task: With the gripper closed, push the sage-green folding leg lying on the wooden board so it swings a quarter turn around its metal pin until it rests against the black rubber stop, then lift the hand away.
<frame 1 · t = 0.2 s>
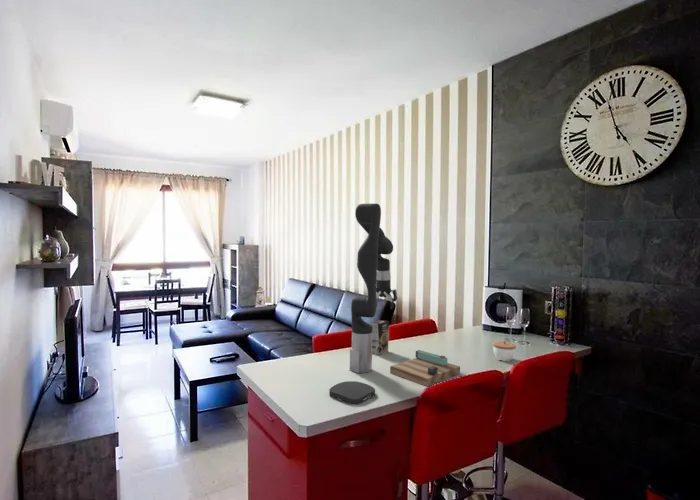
hand: (383, 307, 208), 22 cm above the bar counter, tool pointing down, fingers open, 8 cm apart
wooden board: (425, 373, 172), on the bar counter
folding leg: (431, 356, 179), point 5 cm above the bar counter, hinge at 0.0°
coffee box: (378, 352, 202), on the bar counter
media streaming box: (352, 396, 146), on the bar counter
lidded jar: (503, 360, 193), on the bar counter
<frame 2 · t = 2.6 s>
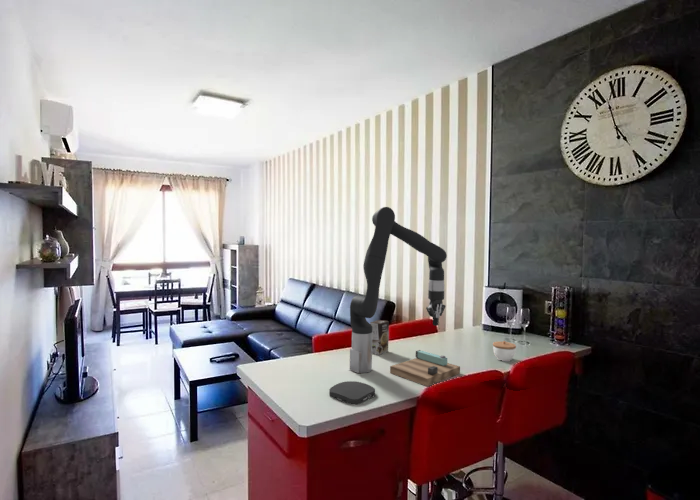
hand: (435, 325, 186), 18 cm above the bar counter, tool pointing down, fingers closed
nothing on the bar counter moved.
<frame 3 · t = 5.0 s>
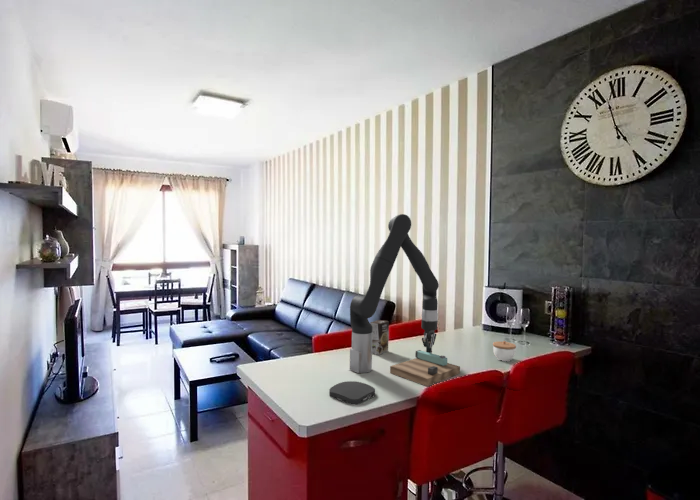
hand: (428, 355, 184), 4 cm above the bar counter, tool pointing down, fingers closed
folding leg: (431, 356, 179), point 5 cm above the bar counter, hinge at 0.4°, touching gripper
everything else where it was.
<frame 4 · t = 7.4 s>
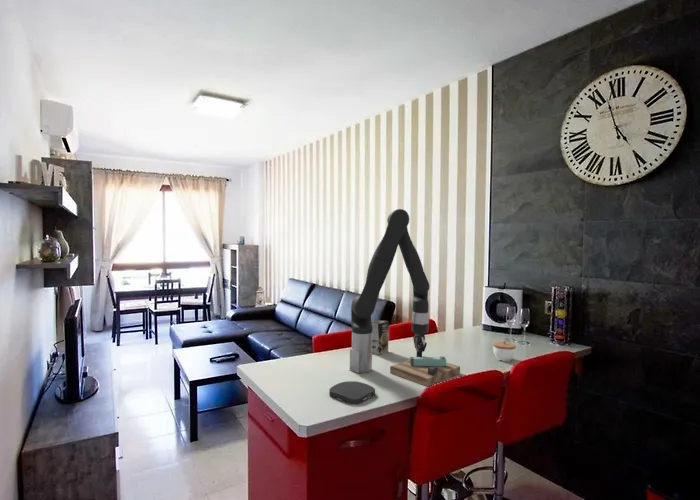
hand: (419, 359, 176), 5 cm above the bar counter, tool pointing down, fingers closed
folding leg: (428, 360, 173), point 5 cm above the bar counter, hinge at 48.2°, touching gripper
everything else where it was.
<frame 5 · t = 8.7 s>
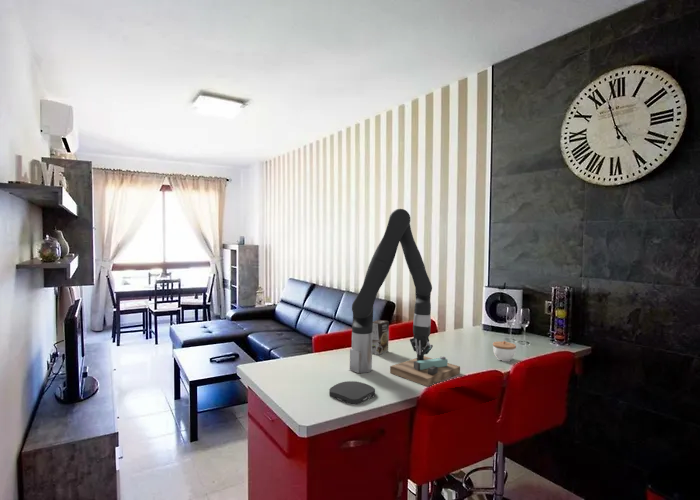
hand: (420, 362, 172), 5 cm above the bar counter, tool pointing down, fingers closed
folding leg: (430, 363, 170), point 5 cm above the bar counter, hinge at 71.2°, touching gripper
everything else where it was.
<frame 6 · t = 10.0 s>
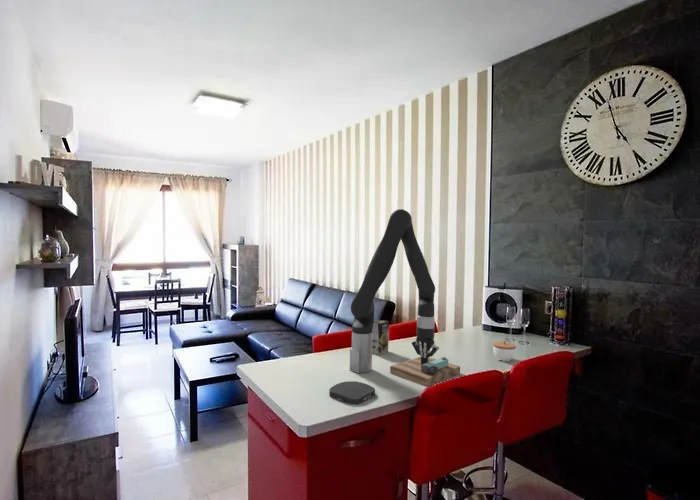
hand: (424, 365, 168), 5 cm above the bar counter, tool pointing down, fingers closed
folding leg: (435, 364, 168), point 5 cm above the bar counter, hinge at 90.4°, touching gripper
everything else where it was.
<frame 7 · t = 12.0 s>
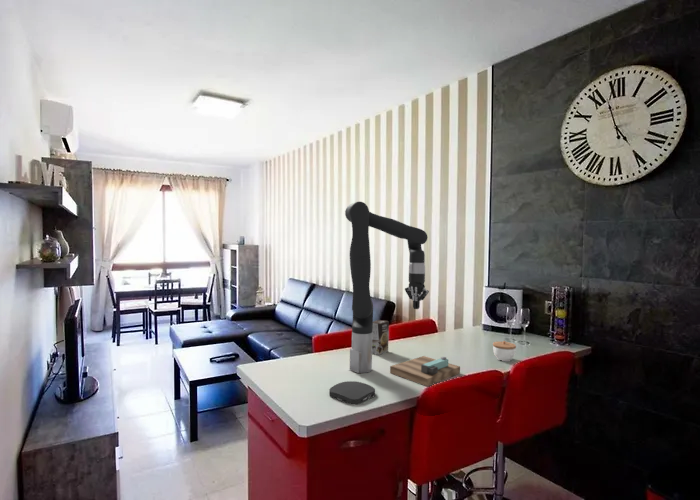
hand: (416, 308, 182), 27 cm above the bar counter, tool pointing down, fingers closed
folding leg: (435, 364, 168), point 5 cm above the bar counter, hinge at 90.4°
everything else where it was.
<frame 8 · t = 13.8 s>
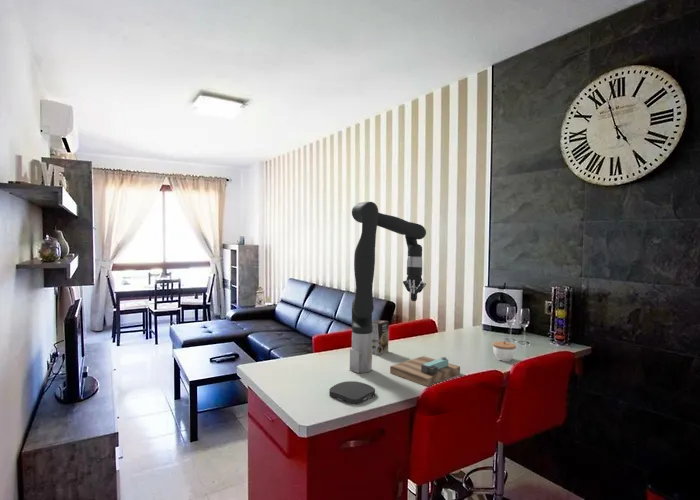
hand: (413, 300, 190), 29 cm above the bar counter, tool pointing down, fingers closed
nothing on the bar counter moved.
at the end: folding leg at +90° (first picture: +0°); media streaming box moved 0.6 cm from its start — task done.
